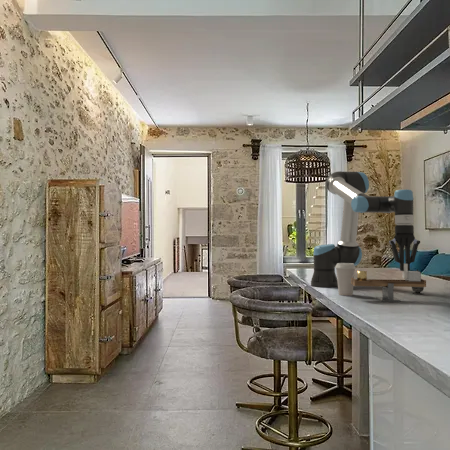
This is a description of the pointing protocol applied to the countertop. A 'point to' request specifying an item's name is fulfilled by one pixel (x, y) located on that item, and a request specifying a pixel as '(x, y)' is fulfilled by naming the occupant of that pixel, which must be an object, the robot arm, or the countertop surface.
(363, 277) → the cylinder
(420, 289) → the salt shaker
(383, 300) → the fulcrum
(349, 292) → the coffee cup
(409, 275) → the block
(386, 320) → the countertop surface
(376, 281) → the wooden tray
